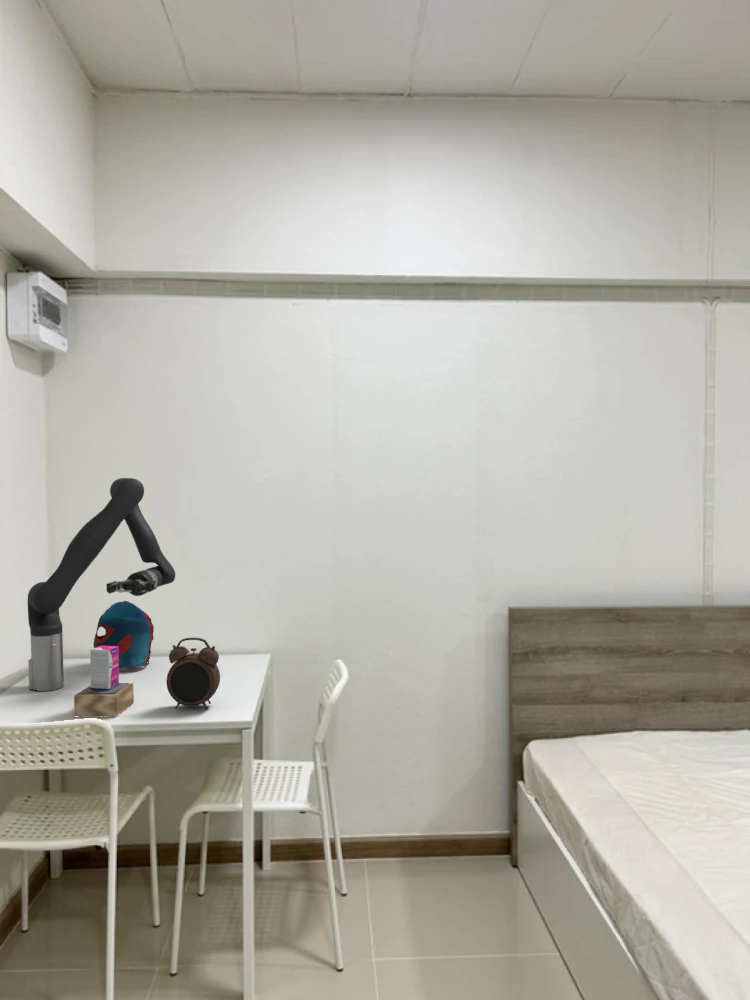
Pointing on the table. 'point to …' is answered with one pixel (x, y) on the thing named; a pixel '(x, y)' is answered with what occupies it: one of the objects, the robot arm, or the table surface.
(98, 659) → the supplement box
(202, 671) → the alarm clock
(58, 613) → the robot arm
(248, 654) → the table surface
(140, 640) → the mask
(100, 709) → the pedestal
